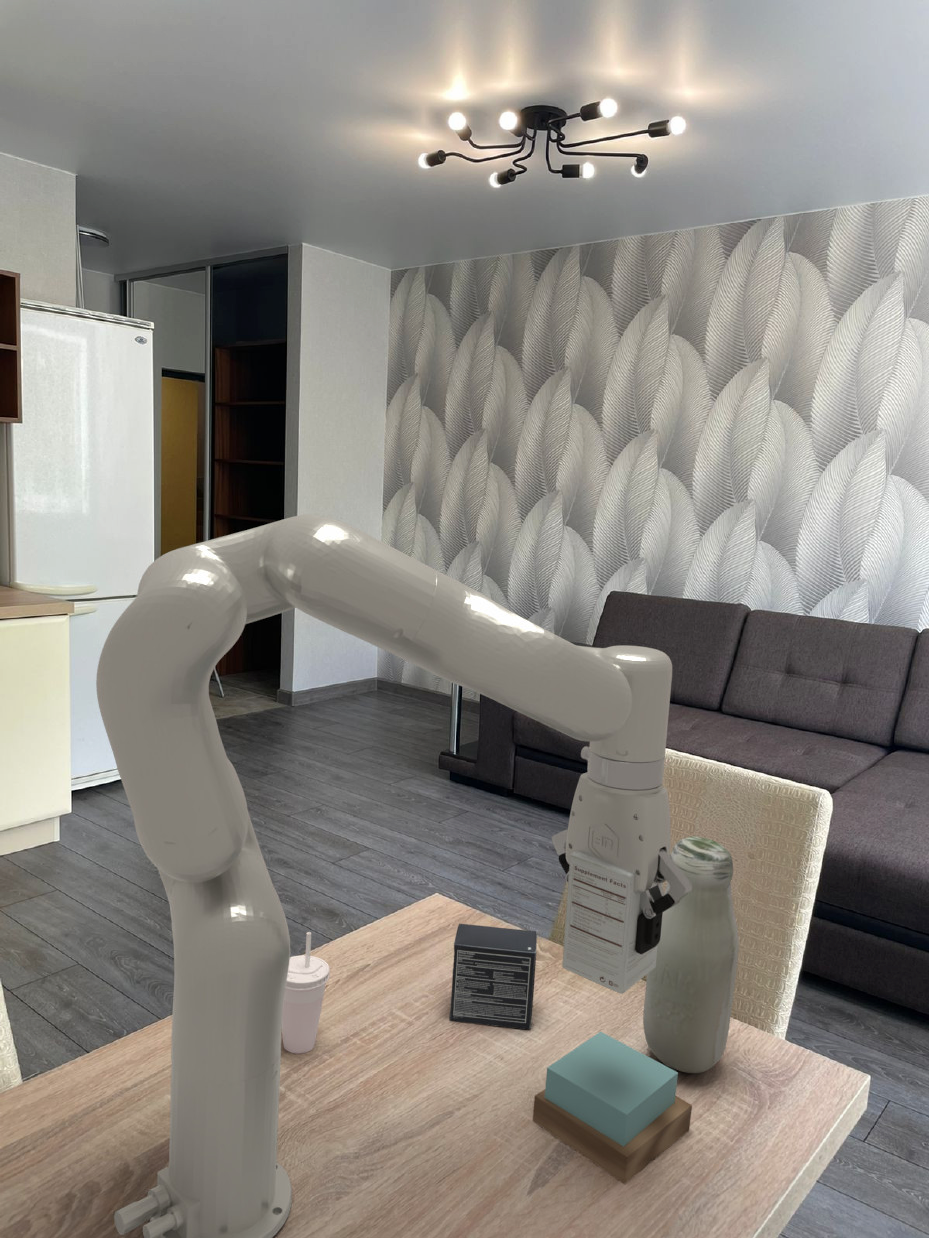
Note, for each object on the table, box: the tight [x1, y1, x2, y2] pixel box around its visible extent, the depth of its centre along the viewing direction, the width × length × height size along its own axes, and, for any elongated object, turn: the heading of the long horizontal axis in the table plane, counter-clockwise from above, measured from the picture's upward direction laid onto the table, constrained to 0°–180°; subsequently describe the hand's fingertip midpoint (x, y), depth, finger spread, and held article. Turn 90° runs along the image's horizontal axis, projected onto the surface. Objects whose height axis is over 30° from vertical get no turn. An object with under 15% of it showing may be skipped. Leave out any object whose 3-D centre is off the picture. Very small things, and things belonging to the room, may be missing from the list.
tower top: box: [544, 1031, 679, 1147], centre depth 99 cm, size 10×10×4 cm
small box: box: [448, 923, 538, 1030], centre depth 119 cm, size 11×6×10 cm, turn 84°
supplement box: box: [562, 851, 664, 995], centre depth 95 cm, size 7×7×13 cm
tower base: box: [532, 1089, 693, 1185], centre depth 100 cm, size 12×12×4 cm
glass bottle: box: [642, 836, 740, 1074], centre depth 110 cm, size 10×10×28 cm
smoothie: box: [281, 931, 331, 1054], centre depth 109 cm, size 6×6×14 cm
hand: (612, 932), depth 96 cm, fingers closed on supplement box, 7 cm apart
